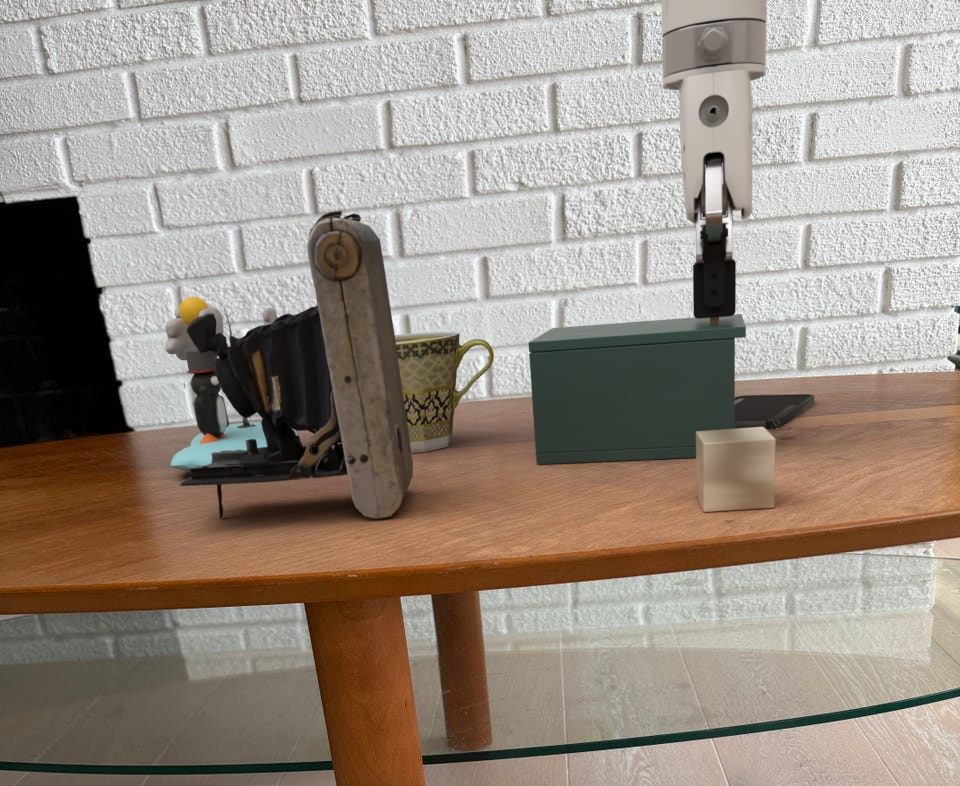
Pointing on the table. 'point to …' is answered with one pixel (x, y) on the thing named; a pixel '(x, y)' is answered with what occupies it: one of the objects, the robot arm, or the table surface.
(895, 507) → the table surface
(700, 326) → the lid
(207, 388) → the penguin figurine
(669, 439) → the chest
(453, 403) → the ceramic cup
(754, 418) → the phone
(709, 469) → the block
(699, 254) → the robot arm
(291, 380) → the vintage camera
